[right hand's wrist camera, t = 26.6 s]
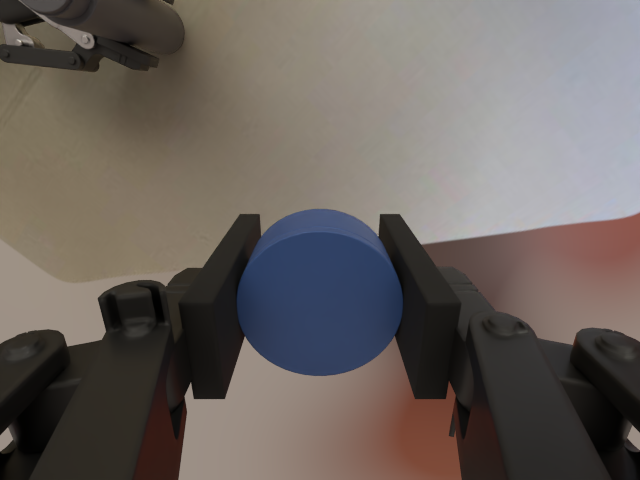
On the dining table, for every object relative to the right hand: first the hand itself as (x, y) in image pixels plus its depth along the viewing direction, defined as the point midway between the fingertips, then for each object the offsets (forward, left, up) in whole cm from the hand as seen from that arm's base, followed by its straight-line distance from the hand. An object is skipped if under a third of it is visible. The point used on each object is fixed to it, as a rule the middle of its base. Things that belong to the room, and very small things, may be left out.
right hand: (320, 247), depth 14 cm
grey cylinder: (-14, -12, -24) cm, 30 cm away
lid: (0, 0, +4) cm, 4 cm away
